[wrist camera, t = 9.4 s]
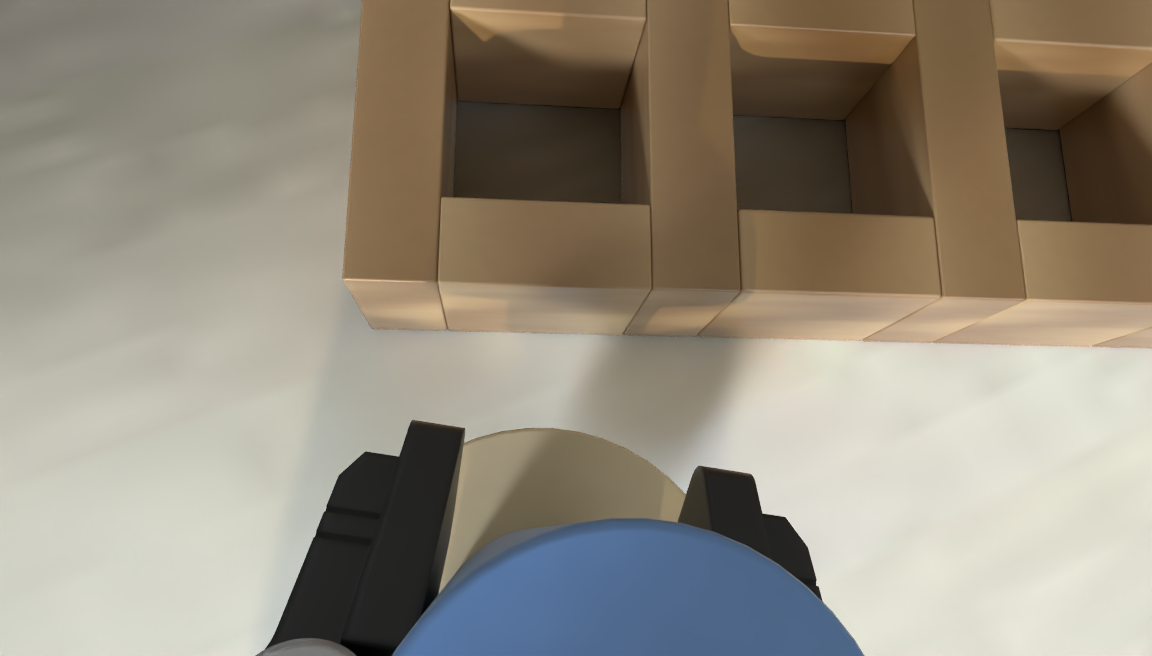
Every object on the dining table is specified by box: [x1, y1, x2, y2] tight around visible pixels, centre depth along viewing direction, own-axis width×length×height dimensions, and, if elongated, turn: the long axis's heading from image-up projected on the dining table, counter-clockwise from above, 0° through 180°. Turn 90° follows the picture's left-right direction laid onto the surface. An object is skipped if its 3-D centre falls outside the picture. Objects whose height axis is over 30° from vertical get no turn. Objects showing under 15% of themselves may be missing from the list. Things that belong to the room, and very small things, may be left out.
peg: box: [392, 428, 864, 656], centre depth 11 cm, size 6×6×13 cm
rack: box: [342, 0, 1152, 348], centre depth 20 cm, size 20×8×4 cm, turn 90°
